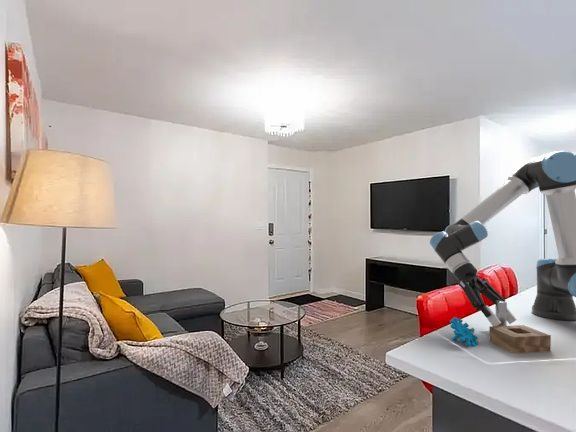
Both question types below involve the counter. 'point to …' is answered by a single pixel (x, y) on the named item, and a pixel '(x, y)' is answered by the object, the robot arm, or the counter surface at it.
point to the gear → (463, 332)
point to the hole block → (520, 339)
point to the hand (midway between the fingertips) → (505, 323)
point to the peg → (501, 312)
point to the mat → (486, 333)
